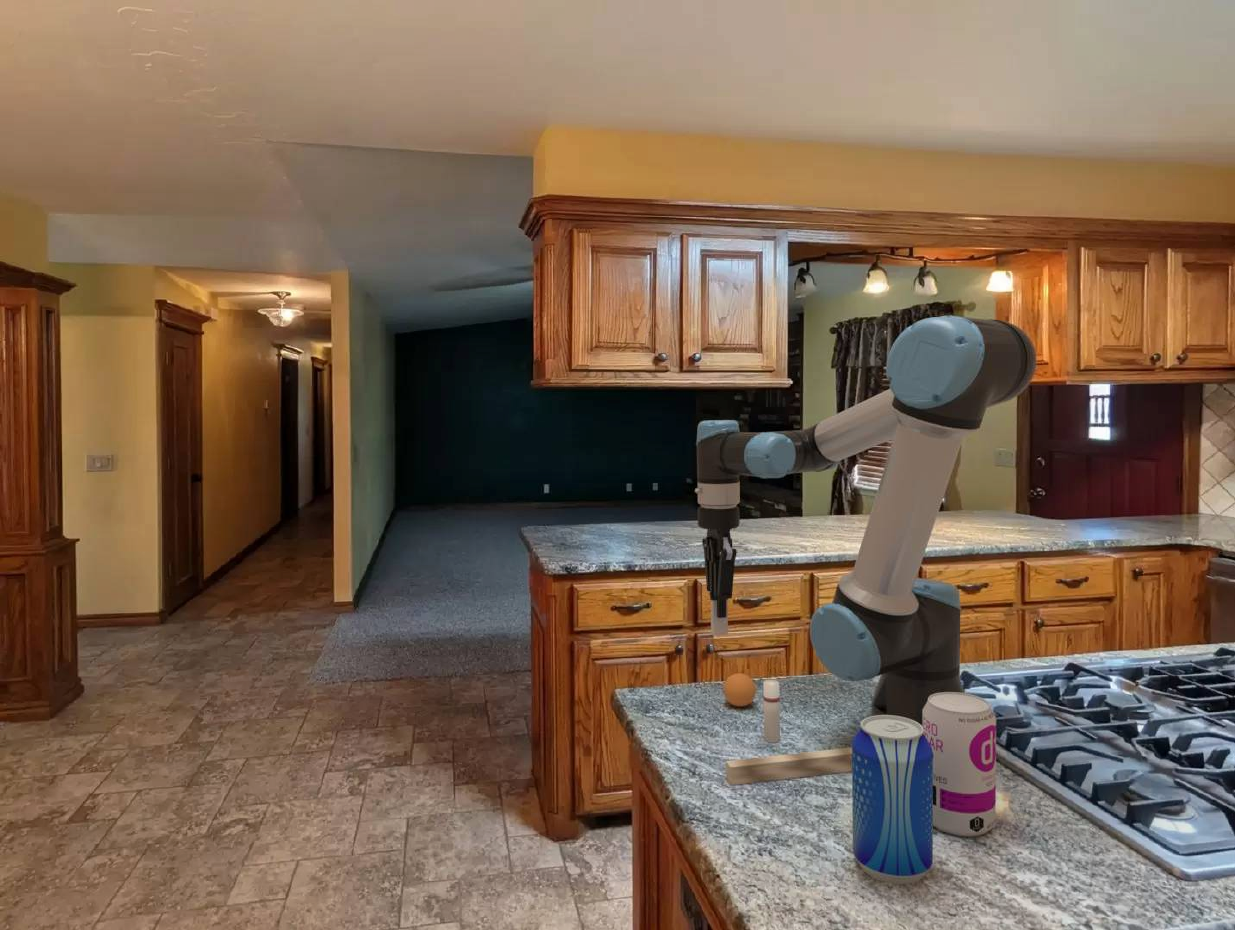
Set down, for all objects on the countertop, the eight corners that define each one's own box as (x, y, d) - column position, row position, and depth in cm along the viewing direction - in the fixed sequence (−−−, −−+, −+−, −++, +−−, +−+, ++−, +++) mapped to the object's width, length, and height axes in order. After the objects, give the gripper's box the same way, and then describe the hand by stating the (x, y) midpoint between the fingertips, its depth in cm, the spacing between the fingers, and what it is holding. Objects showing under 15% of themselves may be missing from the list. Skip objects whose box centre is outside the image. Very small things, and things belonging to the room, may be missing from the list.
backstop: (873, 762, 118) (873, 745, 118) (880, 767, 116) (880, 750, 116) (726, 778, 114) (725, 761, 114) (730, 785, 112) (730, 767, 112)
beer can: (939, 891, 86) (939, 743, 85) (856, 884, 88) (855, 739, 87) (925, 849, 95) (925, 713, 93) (850, 843, 96) (849, 710, 95)
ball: (761, 703, 142) (760, 672, 142) (747, 713, 137) (747, 681, 137) (732, 697, 145) (731, 667, 145) (718, 707, 141) (717, 676, 140)
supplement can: (1008, 824, 100) (1009, 703, 99) (968, 846, 95) (969, 719, 94) (948, 799, 106) (949, 685, 105) (908, 818, 102) (908, 700, 101)
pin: (783, 738, 127) (782, 681, 126) (776, 744, 125) (775, 686, 124) (767, 735, 128) (767, 678, 128) (761, 740, 126) (760, 683, 126)
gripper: (688, 502, 154) (689, 625, 156) (709, 511, 142) (710, 645, 144) (726, 500, 156) (727, 622, 158) (750, 509, 143) (751, 642, 145)
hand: (719, 633), depth 151 cm, fingers closed
